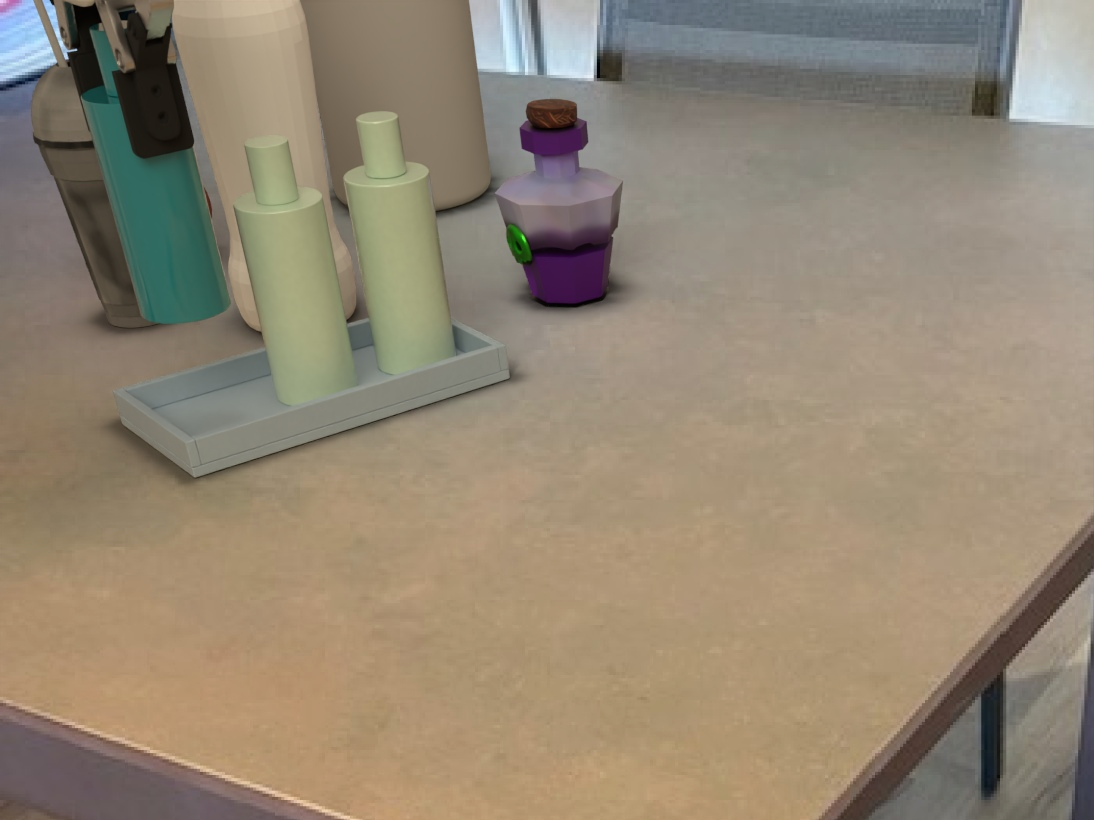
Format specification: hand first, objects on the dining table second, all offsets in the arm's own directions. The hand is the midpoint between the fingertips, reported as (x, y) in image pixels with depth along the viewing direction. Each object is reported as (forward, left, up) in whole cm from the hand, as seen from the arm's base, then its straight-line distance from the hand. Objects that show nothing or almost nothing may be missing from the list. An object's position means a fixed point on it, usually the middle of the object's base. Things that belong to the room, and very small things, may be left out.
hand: (141, 137), depth 87 cm
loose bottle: (0, 0, -9) cm, 9 cm away
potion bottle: (+29, +5, -16) cm, 33 cm away
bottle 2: (+7, 0, -15) cm, 17 cm away
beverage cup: (+5, +22, -16) cm, 28 cm away
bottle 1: (+13, +14, -16) cm, 25 cm away
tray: (+7, 0, -16) cm, 17 cm away
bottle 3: (+14, 0, -15) cm, 21 cm away
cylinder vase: (+33, +33, -16) cm, 49 cm away
